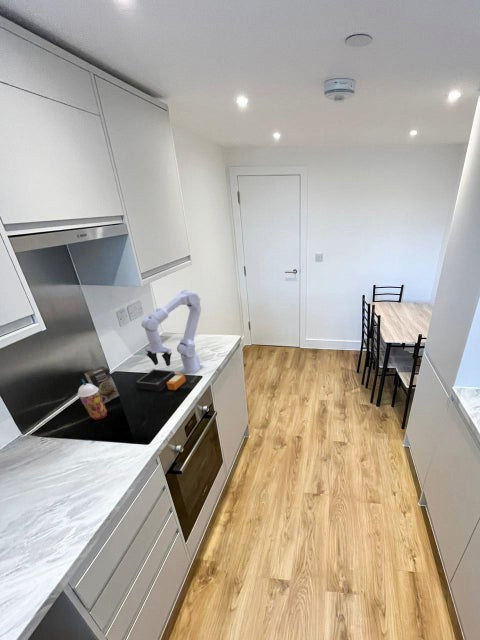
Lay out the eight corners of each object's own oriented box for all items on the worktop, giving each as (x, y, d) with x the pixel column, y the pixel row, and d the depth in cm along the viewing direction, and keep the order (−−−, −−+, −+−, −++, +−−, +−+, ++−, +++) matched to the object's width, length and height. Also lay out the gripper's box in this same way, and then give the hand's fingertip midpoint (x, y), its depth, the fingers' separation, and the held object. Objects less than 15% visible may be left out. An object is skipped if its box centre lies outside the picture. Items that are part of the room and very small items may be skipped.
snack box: (179, 380, 177) (177, 373, 174) (186, 381, 176) (184, 374, 173) (168, 390, 169) (166, 382, 166) (175, 391, 168) (173, 383, 165)
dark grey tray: (155, 376, 183) (153, 369, 181) (176, 378, 179) (174, 371, 177) (138, 389, 171) (135, 382, 169) (160, 391, 168) (157, 384, 165)
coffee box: (102, 404, 160) (89, 376, 151) (96, 401, 164) (83, 372, 155) (120, 396, 166) (108, 368, 157) (114, 392, 170) (102, 365, 161)
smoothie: (86, 420, 150) (66, 382, 139) (100, 410, 156) (83, 373, 145) (99, 423, 147) (80, 385, 136) (113, 412, 154) (97, 375, 143)
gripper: (138, 343, 164) (146, 367, 172) (162, 345, 161) (169, 369, 168) (147, 338, 170) (154, 361, 177) (170, 339, 166) (177, 363, 174)
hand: (162, 364), depth 173 cm, fingers open, 7 cm apart
